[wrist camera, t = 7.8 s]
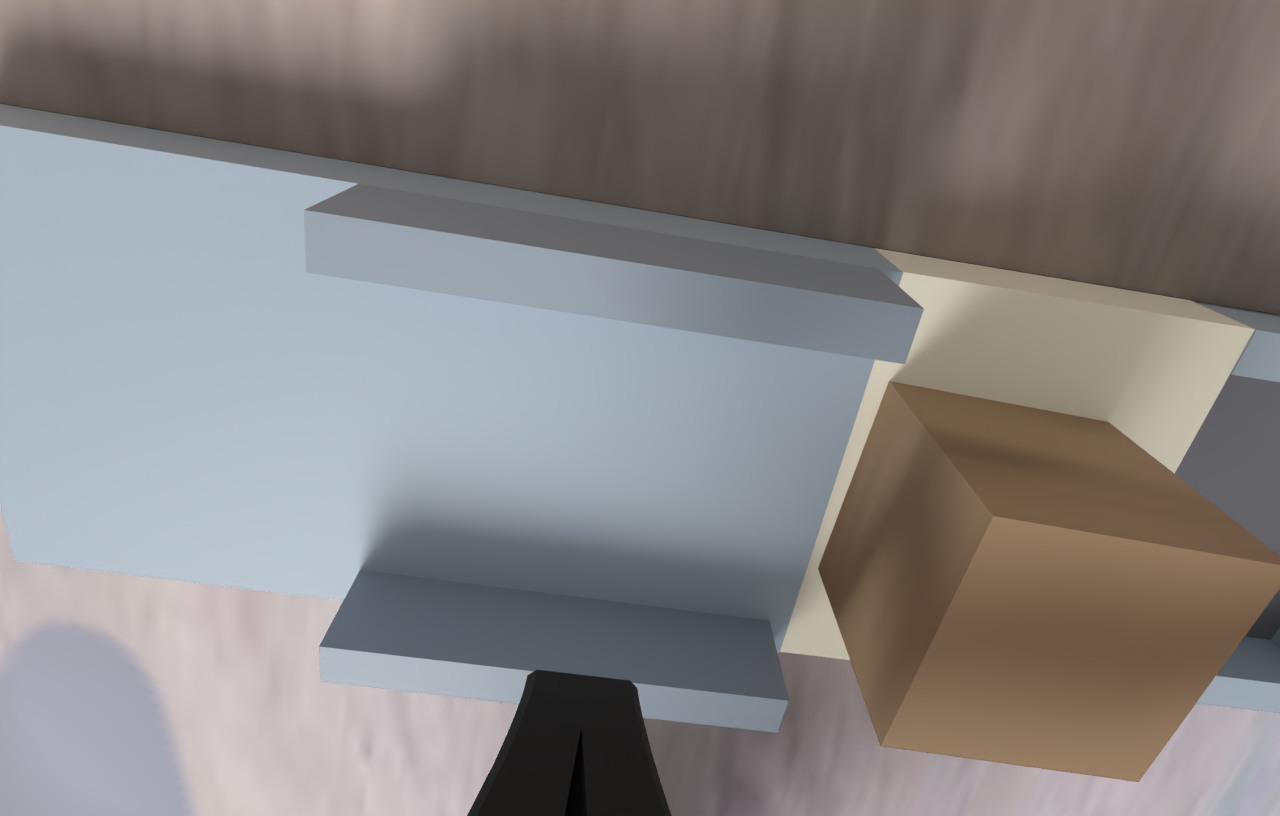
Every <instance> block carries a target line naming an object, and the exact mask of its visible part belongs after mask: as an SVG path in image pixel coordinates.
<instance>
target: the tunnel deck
mask: <svg viewBox="0 0 1280 816" xmlns="http://www.w3.org/2000/svg"><path fill="white" fill-rule="evenodd" d="M889 381H892V382H897V383H903V384H908V385H913V386H919V387H924V388H930V389H935V390H940V391H946V392H951V393H956V394H962V395H967V396H972V397H978V398H983V399H989V400H994V401H999V402H1005V403H1010V404H1015V405H1021V406H1026V407H1031V408H1037V409H1042V410H1047V411H1053V412H1058V413H1064V414H1069V415H1074V416H1080V417H1085V418H1090V419H1096V420H1101V421H1106V422H1109V423H1110V424H1112V425H1113V426H1114V427H1115V428H1117V429H1118V430H1119V431H1121V432H1122V433H1123V434H1124V435H1126V436H1127V437H1128V438H1130V439H1131V440H1132V441H1133V442H1135V443H1136V444H1137V445H1139V446H1140V447H1141V448H1142V449H1144V450H1145V451H1146V452H1147V453H1149V454H1150V455H1151V456H1153V457H1154V458H1155V459H1156V460H1158V461H1159V462H1160V463H1162V464H1163V465H1164V466H1165V467H1167V468H1168V469H1169V470H1171V471H1172V472H1173V473H1174V474H1176V475H1177V476H1178V477H1179V478H1181V479H1182V480H1183V481H1185V482H1186V483H1187V484H1188V485H1190V486H1191V487H1192V488H1194V489H1195V490H1196V491H1197V492H1199V493H1200V494H1201V495H1203V496H1204V497H1205V498H1206V499H1208V500H1209V501H1210V502H1211V503H1213V504H1214V505H1215V506H1217V507H1218V508H1219V509H1220V510H1222V511H1223V512H1224V513H1226V514H1227V515H1228V516H1229V517H1231V518H1232V519H1233V520H1235V521H1236V522H1237V523H1238V524H1240V525H1241V526H1242V527H1243V528H1245V529H1246V530H1247V531H1249V532H1250V533H1251V534H1252V535H1254V536H1255V537H1256V538H1258V539H1259V540H1260V541H1261V542H1263V543H1264V544H1265V545H1267V546H1268V547H1269V548H1270V549H1272V550H1273V551H1274V552H1275V553H1277V554H1278V555H1279V556H1280V315H1276V314H1270V313H1264V312H1258V311H1252V310H1246V309H1240V308H1234V307H1228V306H1222V305H1216V304H1210V303H1204V302H1198V301H1192V300H1186V299H1179V298H1173V297H1167V296H1161V295H1155V294H1149V293H1143V292H1137V291H1131V290H1125V289H1119V288H1113V287H1107V286H1101V285H1095V284H1089V283H1083V282H1076V281H1070V280H1064V279H1058V278H1052V277H1046V276H1040V275H1034V274H1028V273H1022V272H1016V271H1010V270H1004V269H998V268H992V267H986V266H980V265H973V264H967V263H961V262H955V261H949V260H943V259H937V258H931V257H925V256H919V255H913V254H907V253H901V252H895V251H889V250H883V249H877V248H870V247H864V246H858V245H852V244H846V243H840V242H834V241H828V240H822V239H816V238H810V237H804V236H798V235H792V234H786V233H780V232H774V231H768V230H761V229H755V228H749V227H743V226H737V225H731V224H725V223H719V222H713V221H707V220H701V219H695V218H689V217H683V216H677V215H671V214H665V213H658V212H652V211H646V210H640V209H634V208H628V207H622V206H616V205H610V204H604V203H598V202H592V201H586V200H580V199H574V198H568V197H562V196H555V195H549V194H543V193H537V192H531V191H525V190H519V189H513V188H507V187H501V186H495V185H489V184H483V183H477V182H471V181H465V180H459V179H452V178H446V177H440V176H434V175H428V174H422V173H416V172H410V171H404V170H398V169H392V168H386V167H380V166H374V165H368V164H362V163H356V162H350V161H343V160H337V159H331V158H325V157H319V156H313V155H307V154H301V153H295V152H289V151H283V150H277V149H271V148H265V147H259V146H253V145H247V144H240V143H234V142H228V141H222V140H216V139H210V138H204V137H198V136H192V135H186V134H180V133H174V132H168V131H162V130H156V129H150V128H144V127H137V126H131V125H125V124H119V123H113V122H107V121H101V120H95V119H89V118H83V117H77V116H71V115H65V114H59V113H53V112H47V111H41V110H34V109H28V108H22V107H16V106H10V105H4V104H0V507H1V511H2V515H3V519H4V523H5V526H6V530H7V534H8V538H9V542H10V546H11V550H12V554H13V558H14V561H18V562H27V563H35V564H43V565H51V566H60V567H68V568H76V569H85V570H93V571H101V572H110V573H118V574H126V575H135V576H143V577H151V578H160V579H168V580H176V581H184V582H193V583H201V584H209V585H218V586H226V587H234V588H243V589H251V590H259V591H268V592H276V593H284V594H292V595H301V596H309V597H317V598H326V599H334V600H342V601H343V603H342V605H341V606H340V608H339V610H338V612H337V614H336V616H335V618H334V620H333V622H332V623H331V625H330V627H329V629H328V631H327V633H326V635H325V637H324V639H323V640H322V642H321V644H320V646H319V655H320V682H326V683H335V684H344V685H353V686H362V687H371V688H380V689H389V690H398V691H407V692H416V693H425V694H434V695H443V696H452V697H461V698H469V699H478V700H487V701H496V702H505V703H514V704H519V703H520V700H521V697H522V694H523V691H524V687H525V683H526V679H527V675H529V674H530V673H532V672H534V671H536V670H545V671H554V672H562V673H571V674H579V675H588V676H596V677H605V678H613V679H622V680H630V681H631V682H632V683H633V684H634V685H635V686H636V687H637V689H638V696H639V701H640V706H641V711H642V716H643V718H648V719H657V720H666V721H675V722H684V723H693V724H702V725H711V726H720V727H729V728H738V729H747V730H756V731H765V732H774V733H778V730H779V727H780V724H781V721H782V718H783V716H784V713H785V710H786V707H787V704H788V701H789V700H788V696H787V692H786V688H785V684H784V679H783V675H782V671H781V667H780V662H779V658H778V654H777V653H780V652H786V653H794V654H803V655H811V656H819V657H828V658H836V659H844V660H850V658H849V655H848V652H847V650H846V647H845V644H844V641H843V638H842V635H841V633H840V630H839V627H838V624H837V621H836V619H835V616H834V613H833V610H832V607H831V604H830V602H829V599H828V596H827V593H826V590H825V587H824V585H823V582H822V579H821V576H820V573H819V571H818V567H819V564H820V562H821V559H822V556H823V554H824V551H825V548H826V546H827V543H828V540H829V538H830V535H831V533H832V530H833V527H834V525H835V522H836V519H837V517H838V514H839V511H840V509H841V506H842V504H843V501H844V498H845V496H846V493H847V490H848V488H849V485H850V482H851V480H852V477H853V475H854V472H855V469H856V467H857V464H858V461H859V459H860V456H861V453H862V451H863V448H864V446H865V443H866V440H867V438H868V435H869V432H870V430H871V427H872V424H873V422H874V419H875V416H876V414H877V411H878V409H879V406H880V403H881V401H882V398H883V395H884V393H885V390H886V387H887V385H888V382H889ZM1196 703H1198V704H1207V705H1215V706H1223V707H1232V708H1240V709H1248V710H1257V711H1265V712H1273V713H1280V589H1279V590H1278V591H1277V593H1276V594H1275V595H1274V597H1273V598H1272V600H1271V601H1270V602H1269V604H1268V605H1267V606H1266V608H1265V609H1264V611H1263V612H1262V613H1261V615H1260V616H1259V617H1258V619H1257V620H1256V622H1255V623H1254V624H1253V626H1252V627H1251V628H1250V630H1249V631H1248V633H1247V634H1246V635H1245V637H1244V638H1243V639H1242V641H1241V642H1240V644H1239V645H1238V646H1237V648H1236V649H1235V650H1234V652H1233V653H1232V654H1231V656H1230V657H1229V659H1228V660H1227V661H1226V663H1225V664H1224V665H1223V667H1222V668H1221V670H1220V671H1219V672H1218V674H1217V675H1216V676H1215V678H1214V679H1213V681H1212V682H1211V683H1210V685H1209V686H1208V687H1207V689H1206V690H1205V692H1204V693H1203V694H1202V696H1201V697H1200V698H1199V700H1198V701H1197V702H1196Z"/></svg>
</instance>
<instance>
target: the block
mask: <svg viewBox="0 0 1280 816" xmlns="http://www.w3.org/2000/svg"><path fill="white" fill-rule="evenodd" d="M818 571H819V573H820V576H821V579H822V582H823V585H824V587H825V590H826V593H827V596H828V599H829V602H830V604H831V607H832V610H833V613H834V616H835V619H836V621H837V624H838V627H839V630H840V633H841V635H842V638H843V641H844V644H845V647H846V650H847V652H848V655H849V658H850V661H851V664H852V667H853V669H854V672H855V675H856V678H857V681H858V683H859V686H860V689H861V692H862V695H863V698H864V700H865V703H866V706H867V709H868V712H869V715H870V717H871V720H872V723H873V726H874V729H875V731H876V734H877V737H878V740H879V743H880V746H883V747H890V748H897V749H904V750H912V751H919V752H926V753H933V754H940V755H948V756H955V757H962V758H969V759H976V760H984V761H991V762H998V763H1005V764H1013V765H1020V766H1027V767H1034V768H1041V769H1049V770H1056V771H1063V772H1070V773H1077V774H1085V775H1092V776H1099V777H1106V778H1114V779H1121V780H1128V781H1135V782H1139V781H1140V779H1141V778H1142V777H1143V775H1144V774H1145V772H1146V771H1147V770H1148V768H1149V767H1150V766H1151V764H1152V763H1153V761H1154V760H1155V759H1156V757H1157V756H1158V755H1159V753H1160V752H1161V751H1162V749H1163V748H1164V746H1165V745H1166V744H1167V742H1168V741H1169V740H1170V738H1171V737H1172V735H1173V734H1174V733H1175V731H1176V730H1177V729H1178V727H1179V726H1180V724H1181V723H1182V722H1183V720H1184V719H1185V718H1186V716H1187V715H1188V713H1189V712H1190V711H1191V709H1192V708H1193V707H1194V705H1195V704H1196V702H1197V701H1198V700H1199V698H1200V697H1201V696H1202V694H1203V693H1204V692H1205V690H1206V689H1207V687H1208V686H1209V685H1210V683H1211V682H1212V681H1213V679H1214V678H1215V676H1216V675H1217V674H1218V672H1219V671H1220V670H1221V668H1222V667H1223V665H1224V664H1225V663H1226V661H1227V660H1228V659H1229V657H1230V656H1231V654H1232V653H1233V652H1234V650H1235V649H1236V648H1237V646H1238V645H1239V644H1240V642H1241V641H1242V639H1243V638H1244V637H1245V635H1246V634H1247V633H1248V631H1249V630H1250V628H1251V627H1252V626H1253V624H1254V623H1255V622H1256V620H1257V619H1258V617H1259V616H1260V615H1261V613H1262V612H1263V611H1264V609H1265V608H1266V606H1267V605H1268V604H1269V602H1270V601H1271V600H1272V598H1273V597H1274V595H1275V594H1276V593H1277V591H1278V590H1279V589H1280V556H1279V555H1278V554H1277V553H1275V552H1274V551H1273V550H1272V549H1270V548H1269V547H1268V546H1267V545H1265V544H1264V543H1263V542H1261V541H1260V540H1259V539H1258V538H1256V537H1255V536H1254V535H1252V534H1251V533H1250V532H1249V531H1247V530H1246V529H1245V528H1243V527H1242V526H1241V525H1240V524H1238V523H1237V522H1236V521H1235V520H1233V519H1232V518H1231V517H1229V516H1228V515H1227V514H1226V513H1224V512H1223V511H1222V510H1220V509H1219V508H1218V507H1217V506H1215V505H1214V504H1213V503H1211V502H1210V501H1209V500H1208V499H1206V498H1205V497H1204V496H1203V495H1201V494H1200V493H1199V492H1197V491H1196V490H1195V489H1194V488H1192V487H1191V486H1190V485H1188V484H1187V483H1186V482H1185V481H1183V480H1182V479H1181V478H1179V477H1178V476H1177V475H1176V474H1174V473H1173V472H1172V471H1171V470H1169V469H1168V468H1167V467H1165V466H1164V465H1163V464H1162V463H1160V462H1159V461H1158V460H1156V459H1155V458H1154V457H1153V456H1151V455H1150V454H1149V453H1147V452H1146V451H1145V450H1144V449H1142V448H1141V447H1140V446H1139V445H1137V444H1136V443H1135V442H1133V441H1132V440H1131V439H1130V438H1128V437H1127V436H1126V435H1124V434H1123V433H1122V432H1121V431H1119V430H1118V429H1117V428H1115V427H1114V426H1113V425H1112V424H1110V423H1109V422H1106V421H1101V420H1096V419H1090V418H1085V417H1080V416H1074V415H1069V414H1064V413H1058V412H1053V411H1047V410H1042V409H1037V408H1031V407H1026V406H1021V405H1015V404H1010V403H1005V402H999V401H994V400H989V399H983V398H978V397H972V396H967V395H962V394H956V393H951V392H946V391H940V390H935V389H930V388H924V387H919V386H913V385H908V384H903V383H897V382H892V381H889V382H888V385H887V387H886V390H885V393H884V395H883V398H882V401H881V403H880V406H879V409H878V411H877V414H876V416H875V419H874V422H873V424H872V427H871V430H870V432H869V435H868V438H867V440H866V443H865V446H864V448H863V451H862V453H861V456H860V459H859V461H858V464H857V467H856V469H855V472H854V475H853V477H852V480H851V482H850V485H849V488H848V490H847V493H846V496H845V498H844V501H843V504H842V506H841V509H840V511H839V514H838V517H837V519H836V522H835V525H834V527H833V530H832V533H831V535H830V538H829V540H828V543H827V546H826V548H825V551H824V554H823V556H822V559H821V562H820V564H819V567H818Z"/></svg>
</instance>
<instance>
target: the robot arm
mask: <svg viewBox="0 0 1280 816" xmlns="http://www.w3.org/2000/svg"><path fill="white" fill-rule="evenodd" d="M467 816H671V813H670V810H669V807H668V804H667V801H666V798H665V795H664V792H663V789H662V786H661V783H660V779H659V776H658V773H657V769H656V766H655V762H654V759H653V755H652V752H651V748H650V745H649V741H648V737H647V733H646V729H645V725H644V721H643V716H642V711H641V706H640V701H639V696H638V689H637V687H636V686H635V685H634V684H633V683H632V682H631V681H630V680H622V679H613V678H605V677H596V676H588V675H579V674H571V673H562V672H554V671H545V670H536V671H534V672H532V673H530V674H529V675H527V679H526V683H525V687H524V691H523V694H522V697H521V700H520V703H519V706H518V709H517V711H516V714H515V717H514V719H513V722H512V724H511V727H510V729H509V731H508V734H507V736H506V738H505V740H504V743H503V745H502V747H501V749H500V751H499V754H498V756H497V758H496V760H495V762H494V765H493V767H492V769H491V770H490V772H489V774H488V776H487V778H486V780H485V782H484V784H483V786H482V788H481V790H480V792H479V794H478V796H477V798H476V800H475V802H474V803H473V805H472V807H471V809H470V811H469V813H468V815H467Z"/></svg>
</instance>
